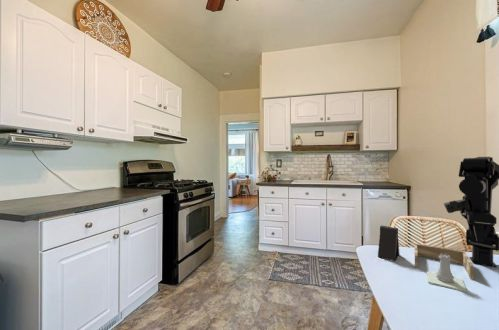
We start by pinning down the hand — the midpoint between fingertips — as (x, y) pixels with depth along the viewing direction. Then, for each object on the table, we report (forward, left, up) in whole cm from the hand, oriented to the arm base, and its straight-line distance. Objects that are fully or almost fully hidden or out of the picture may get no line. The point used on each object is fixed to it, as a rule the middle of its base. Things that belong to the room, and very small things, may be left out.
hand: (476, 238), depth 79 cm
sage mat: (+14, -9, -12) cm, 21 cm away
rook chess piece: (+14, -9, -12) cm, 20 cm away
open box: (-1, -9, -12) cm, 15 cm away
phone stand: (0, -26, -12) cm, 29 cm away
